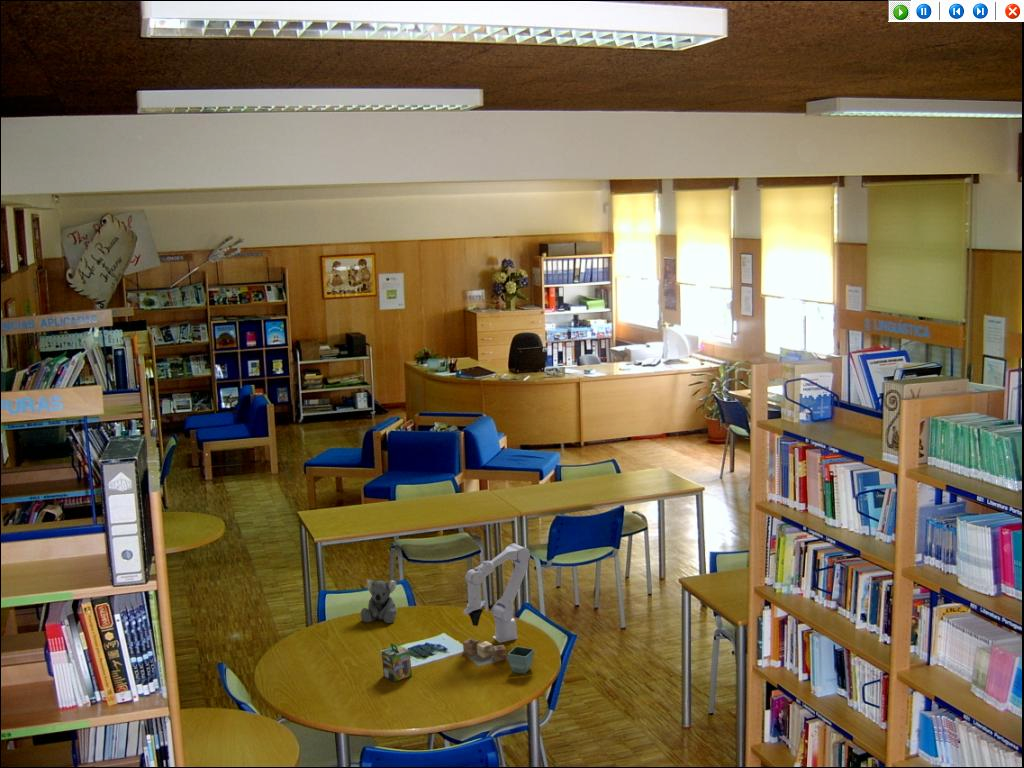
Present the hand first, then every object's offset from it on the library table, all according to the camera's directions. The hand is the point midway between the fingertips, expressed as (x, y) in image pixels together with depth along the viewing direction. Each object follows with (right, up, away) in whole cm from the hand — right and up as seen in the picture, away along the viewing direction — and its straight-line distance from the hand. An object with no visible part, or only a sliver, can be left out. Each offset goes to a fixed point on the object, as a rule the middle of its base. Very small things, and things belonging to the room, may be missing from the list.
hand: (475, 625), depth 490 cm
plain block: (+5, -11, -8) cm, 15 cm away
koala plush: (-47, -6, +43) cm, 65 cm away
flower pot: (+21, -14, -26) cm, 36 cm away
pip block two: (-2, -11, -4) cm, 12 cm away
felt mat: (+5, -12, -9) cm, 15 cm away
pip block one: (+11, -12, -13) cm, 21 cm away
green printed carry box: (-32, -16, -25) cm, 44 cm away
